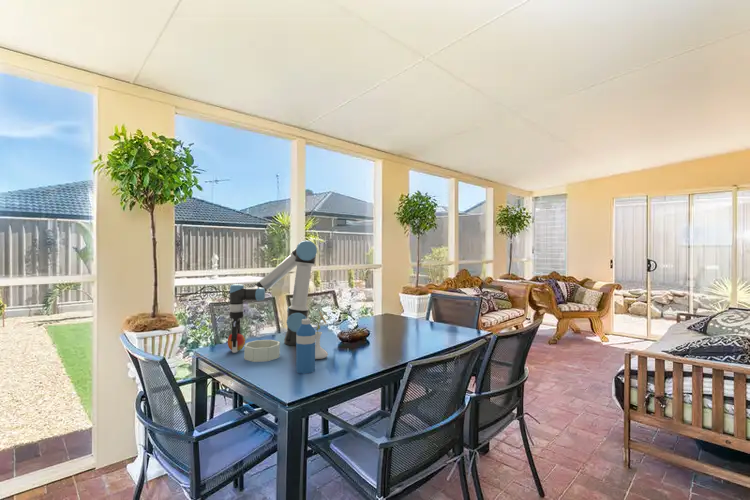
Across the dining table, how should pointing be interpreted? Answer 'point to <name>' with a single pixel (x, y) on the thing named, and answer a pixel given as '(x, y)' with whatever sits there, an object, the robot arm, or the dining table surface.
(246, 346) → the white faceted bowl
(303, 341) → the water bottle
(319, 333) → the flower in vase
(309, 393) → the dining table surface
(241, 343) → the apple
